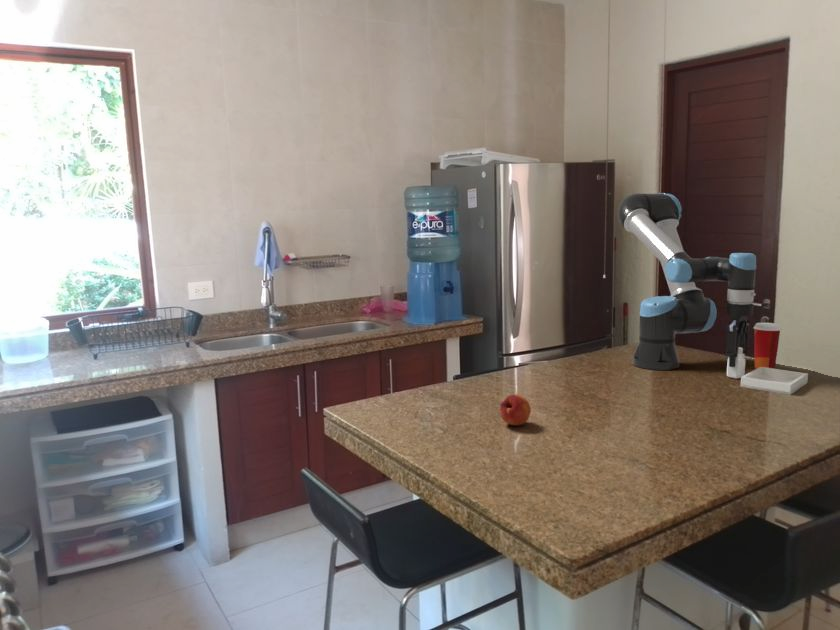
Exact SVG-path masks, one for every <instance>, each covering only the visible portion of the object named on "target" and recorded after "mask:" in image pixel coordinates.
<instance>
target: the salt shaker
mask: <svg viewBox="0 0 840 630" xmlns="http://www.w3.org/2000/svg"><path fill="white" fill-rule="evenodd" d="M742 354H743V348H741V347H739V348H738V355H737V357H739V358H738V374H737V377H730V376H728V360H729V357H728V358H727V362H726V363H727V365H726V376H727V377H729V378H732V379H735V380H736V379H741V377H742V376H744V375H746V374H745V373H746V358H742Z"/></svg>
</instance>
